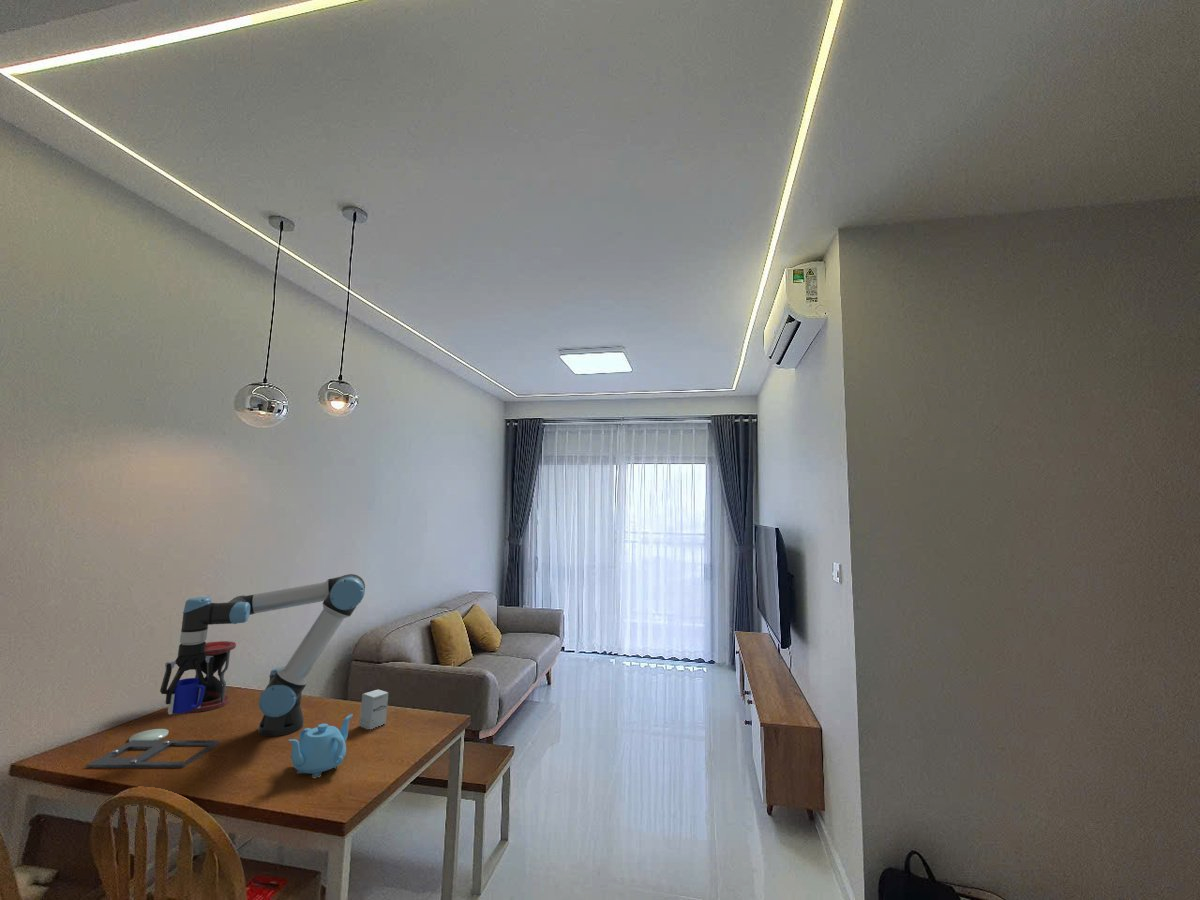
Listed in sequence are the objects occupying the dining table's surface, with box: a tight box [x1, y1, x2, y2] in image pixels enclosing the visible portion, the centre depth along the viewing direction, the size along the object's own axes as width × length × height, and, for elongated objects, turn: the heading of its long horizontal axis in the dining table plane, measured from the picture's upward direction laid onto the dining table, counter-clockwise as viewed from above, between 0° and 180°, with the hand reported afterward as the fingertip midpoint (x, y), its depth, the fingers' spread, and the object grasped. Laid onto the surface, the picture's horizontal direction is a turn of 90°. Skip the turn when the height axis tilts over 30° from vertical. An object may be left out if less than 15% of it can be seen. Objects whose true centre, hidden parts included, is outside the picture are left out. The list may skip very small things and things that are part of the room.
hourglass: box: [188, 640, 237, 713], centre depth 220 cm, size 16×16×25 cm
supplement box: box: [358, 689, 389, 730], centre depth 204 cm, size 7×7×13 cm
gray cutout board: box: [85, 739, 221, 769], centre depth 174 cm, size 30×18×1 cm, turn 95°
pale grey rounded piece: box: [128, 728, 170, 742], centre depth 187 cm, size 11×11×1 cm
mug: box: [172, 677, 205, 715], centre depth 178 cm, size 8×12×10 cm
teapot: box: [287, 713, 354, 777], centre depth 170 cm, size 16×20×14 cm
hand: (184, 710), depth 176 cm, fingers closed on mug, 7 cm apart
